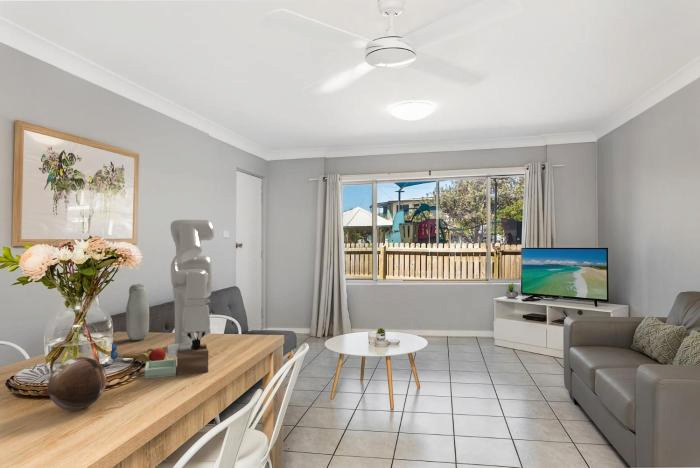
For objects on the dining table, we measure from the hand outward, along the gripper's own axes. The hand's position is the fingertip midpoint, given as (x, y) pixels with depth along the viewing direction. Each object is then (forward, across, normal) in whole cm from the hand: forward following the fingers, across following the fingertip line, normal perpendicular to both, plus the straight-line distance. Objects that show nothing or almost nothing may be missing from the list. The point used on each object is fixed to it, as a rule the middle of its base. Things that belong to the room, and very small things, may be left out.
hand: (196, 349), depth 173 cm
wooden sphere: (+8, +35, +28) cm, 46 cm away
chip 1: (+2, +8, 0) cm, 8 cm away
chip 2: (+2, +4, 0) cm, 4 cm away
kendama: (+8, +19, -18) cm, 28 cm away
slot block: (+8, +1, 0) cm, 8 cm away
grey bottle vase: (+7, +24, -64) cm, 68 cm away
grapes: (+8, +35, -20) cm, 41 cm away
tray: (+8, +13, -1) cm, 15 cm away
